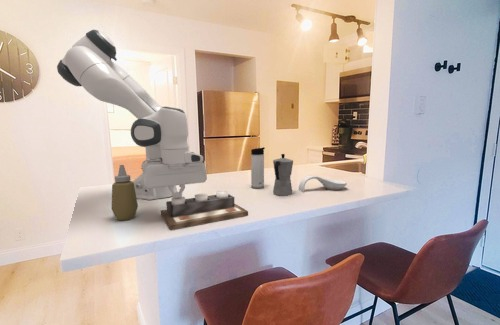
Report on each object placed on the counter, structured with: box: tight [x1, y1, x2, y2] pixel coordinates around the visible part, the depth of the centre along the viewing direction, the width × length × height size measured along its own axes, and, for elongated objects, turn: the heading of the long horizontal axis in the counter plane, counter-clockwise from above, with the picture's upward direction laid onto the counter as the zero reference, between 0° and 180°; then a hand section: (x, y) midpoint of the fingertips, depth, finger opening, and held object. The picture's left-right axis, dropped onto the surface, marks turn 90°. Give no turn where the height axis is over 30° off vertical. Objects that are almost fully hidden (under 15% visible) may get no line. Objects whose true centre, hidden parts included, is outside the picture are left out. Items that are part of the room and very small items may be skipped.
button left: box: [170, 196, 186, 206], centre depth 89 cm, size 4×4×3 cm
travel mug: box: [250, 147, 266, 190], centre depth 130 cm, size 6×7×20 cm
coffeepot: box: [272, 153, 294, 197], centre depth 118 cm, size 15×9×18 cm, turn 153°
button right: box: [215, 190, 229, 199], centre depth 97 cm, size 4×4×3 cm
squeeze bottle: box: [111, 164, 139, 221], centre depth 88 cm, size 8×8×18 cm
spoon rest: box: [298, 174, 348, 193], centre depth 127 cm, size 24×12×7 cm, turn 106°
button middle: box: [194, 193, 209, 202], centre depth 93 cm, size 4×4×3 cm
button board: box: [160, 193, 249, 231], centre depth 91 cm, size 26×16×5 cm, turn 119°
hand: (177, 198), depth 89 cm, fingers closed
